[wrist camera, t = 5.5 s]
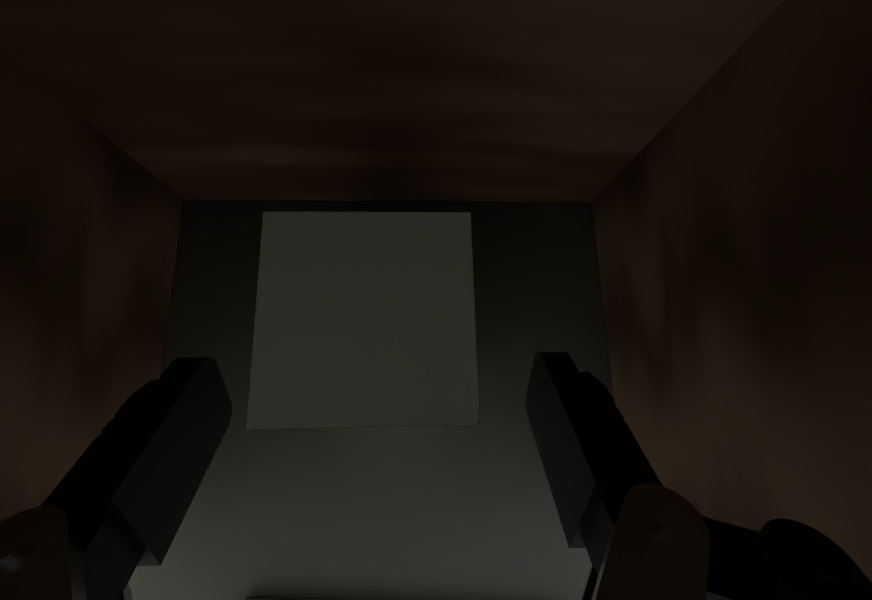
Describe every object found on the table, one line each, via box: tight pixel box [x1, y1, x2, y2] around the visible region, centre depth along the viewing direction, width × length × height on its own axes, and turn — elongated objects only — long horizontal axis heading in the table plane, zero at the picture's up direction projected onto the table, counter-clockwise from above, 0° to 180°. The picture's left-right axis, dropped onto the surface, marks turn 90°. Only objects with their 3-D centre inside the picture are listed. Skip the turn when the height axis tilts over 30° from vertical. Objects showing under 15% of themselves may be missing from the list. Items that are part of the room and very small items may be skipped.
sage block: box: [246, 212, 480, 430], centre depth 12 cm, size 4×4×9 cm
